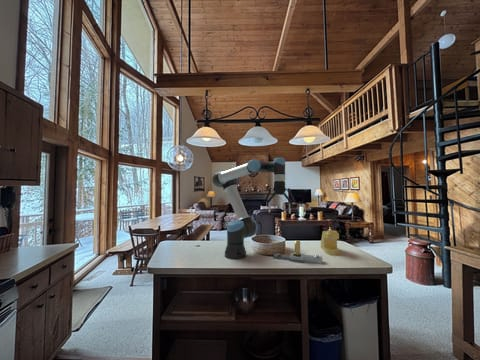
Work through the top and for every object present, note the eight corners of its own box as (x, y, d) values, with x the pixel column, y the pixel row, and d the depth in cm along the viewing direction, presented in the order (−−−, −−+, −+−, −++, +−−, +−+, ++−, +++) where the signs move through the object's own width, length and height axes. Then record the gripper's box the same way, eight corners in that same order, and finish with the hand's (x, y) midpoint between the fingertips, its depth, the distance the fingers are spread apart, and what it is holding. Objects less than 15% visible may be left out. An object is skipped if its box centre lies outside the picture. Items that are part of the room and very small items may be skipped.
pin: (294, 260, 141) (294, 241, 141) (295, 258, 144) (294, 240, 145) (300, 260, 139) (299, 242, 140) (300, 259, 143) (300, 240, 143)
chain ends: (272, 258, 144) (272, 253, 144) (275, 255, 152) (275, 249, 152) (322, 264, 132) (322, 258, 132) (322, 260, 140) (322, 254, 140)
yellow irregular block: (341, 255, 151) (340, 232, 152) (327, 255, 152) (326, 232, 153) (333, 248, 171) (332, 227, 172) (320, 247, 172) (320, 227, 173)
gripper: (260, 180, 147) (259, 212, 146) (297, 180, 138) (298, 214, 137) (263, 181, 154) (262, 211, 153) (299, 181, 145) (299, 213, 144)
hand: (279, 212), depth 145 cm, fingers open, 13 cm apart
